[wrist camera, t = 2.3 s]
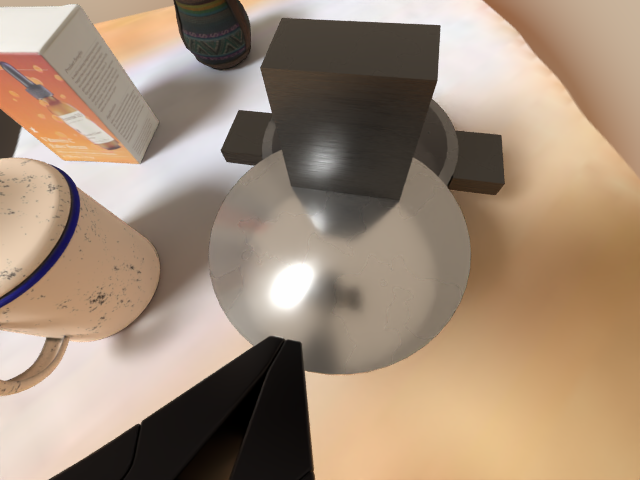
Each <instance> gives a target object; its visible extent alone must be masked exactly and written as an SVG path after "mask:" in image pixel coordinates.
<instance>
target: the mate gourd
mask: <svg viewBox="0 0 640 480" xmlns="http://www.w3.org/2000/svg"><path fill="white" fill-rule="evenodd" d="M174 5H175V10H176V18H177V23H178V27H179V33H180V35H181V38H182V40H183V42H184V44H185V46H186V48H187V49H188V50H190V51H191V53H193V54H194V55H195V57H196V59H197V60H198V61H199V62H201V63H203V64H205V65H207V66H210V67H213V68H216V69H226V68H230V67H233V66H235V65H237V64H238V63H240V62H241V61H242V60H243V59H246V57H247V55H248V54H249V52H250V48H251V45H250V44H251V32H250V31H251V30H250V22H249V18H248V16H247V13H246V11H245V9H244V7H243V5H242V4H241V3H240V1H239V0H174Z"/></svg>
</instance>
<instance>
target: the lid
mask: <svg viewBox="0 0 640 480" xmlns="http://www.w3.org/2000/svg"><path fill="white" fill-rule="evenodd" d="M439 43H440V25H423V24H401V23H379V22H357V21H335V20H312V19H290V18H282V19H281V22H280V24H279V26H278V28H277V31H276V33H275V35H274V38H273V40H272V42H271V44H270V47H269V49H268V51H267V53H266V56H265V58H264V60H263V63H262V65H261V67H260V68H261V72H262V76H263V80H264V84H265V88H266V92H267V95H268V99H269V103H270V107H271V111H272V115H273V119H274V122H275V126H276V130H277V134H278V138H279V142H280V146H281V149H282V150H280V151H278V152H276V153H273V154H272V155H270V156H268V157H267V158H265V159H263V160H262V161H260V162H259V163H258V164H256V165H255V166H254V167H253V168H251V169H250V170H249V171H248V172H247V173H246V174H245V175H244V176H243V177H242V178H241V179H240V180H239V181H238V182H237V183H236V184H235V186H234V187H233V188H232V189H231V190H230V192H229V194H228V195H227V197H226V198H225V200H224V201H223V203H222V205H221V207H220V209H219V211H218V213H217V215H216V219H215V222H214V225H213V228H212V232H211V237H210V242H209V269H210V277H211V281H212V285H213V289H214V292H215V294H216V297H217V299H218V301H219V304H220V306H221V308H222V309H223V311H224V313H225V314H226V316H227V318H228V319H229V321H230V322H231V323H232V324H233V326H234V327H235V328H236V329H237V331H238V332H239V333H240V334H241V335H242V336H243V337H244V338H245V339H246V340H248V341H249V342H250V343H251V344H252V345H253V346H255V345H256V344H258V343H259V342H261V341H262V340H264V339H265V338H267V337H269V336H277V337H282V338H284V339H285V340H287V339H291V340H296V341H300V342H301V343H302V349H303V359H304V370H305V371H308V372H312V373H319V374H325V375H353V374H360V373H367V372H371V371H374V370H377V369H381V368H384V367H387V366H390V365H392V364H394V363H396V362H399V361H401V360H403V359H405V358H407V357H409V356H410V355H412V354H413V353H415V352H417V351H418V350H420V349H421V348H423V347H424V346H425V345H426V344H428V343H429V342H430V341H431V340H432V339H433V338H434V337H435V336H436V335H438V334H439V333H440V331H441V330H442V329H443V328H444V326H445V325H446V324H447V323H448V322H449V320H450V319H451V317H452V316H453V314H454V312H455V311H456V309H457V307H458V306H459V304H460V302H461V299H462V296H463V294H464V291H465V289H466V286H467V281H468V277H469V272H470V262H471V248H470V238H469V233H468V229H467V225H466V221H465V219H464V216H463V214H462V211H461V209H460V207H459V205H458V203H457V201H456V200H455V198H454V196H453V194H452V193H451V192H450V190H449V189H448V188H447V186H446V185H445V184H444V183H443V181H442V180H441V179H440V178H439V177H438V176H437V175H436V174H435V173H434V172H433V171H432V170H430V169H429V168H428V167H427V166H425V165H424V164H423V163H422V162H420V161H419V160H417V159H415V158H414V157H413V156H414V153H415V150H416V147H417V144H418V140H419V137H420V134H421V131H422V128H423V124H424V121H425V118H426V115H427V112H428V109H429V105H430V102H431V99H432V96H433V93H434V89H435V86H436V83H437V78H438V60H439Z"/></svg>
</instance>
